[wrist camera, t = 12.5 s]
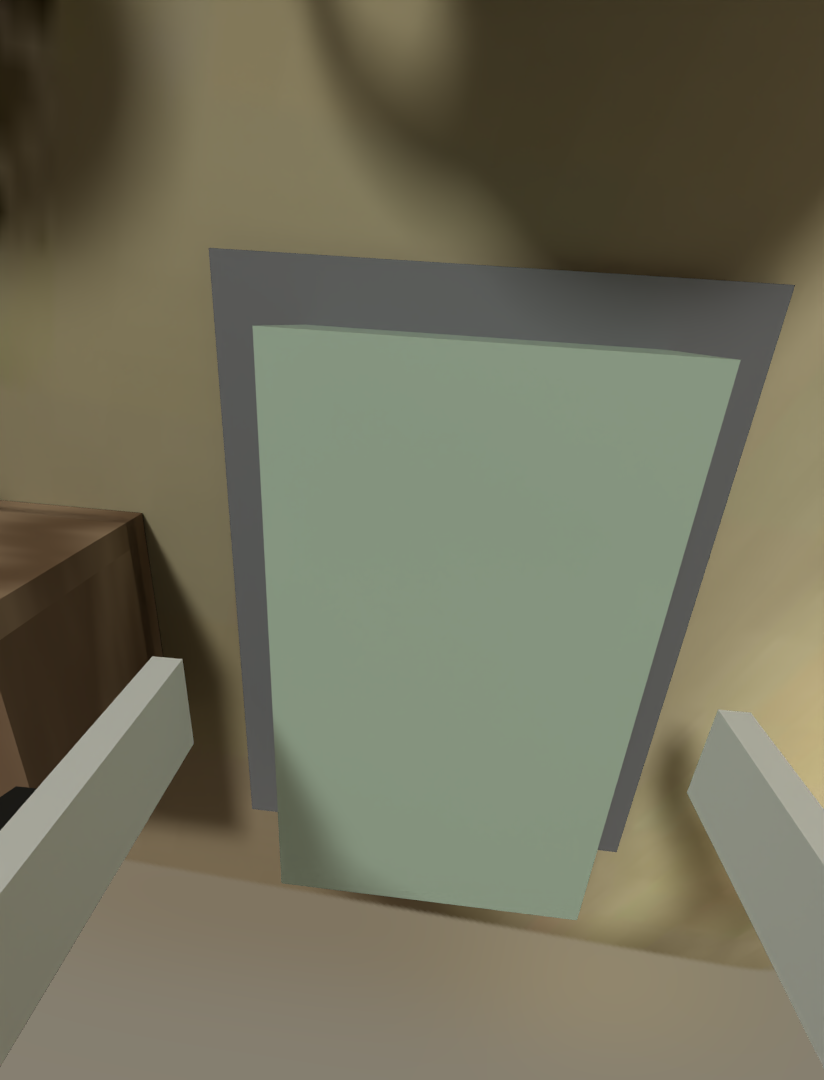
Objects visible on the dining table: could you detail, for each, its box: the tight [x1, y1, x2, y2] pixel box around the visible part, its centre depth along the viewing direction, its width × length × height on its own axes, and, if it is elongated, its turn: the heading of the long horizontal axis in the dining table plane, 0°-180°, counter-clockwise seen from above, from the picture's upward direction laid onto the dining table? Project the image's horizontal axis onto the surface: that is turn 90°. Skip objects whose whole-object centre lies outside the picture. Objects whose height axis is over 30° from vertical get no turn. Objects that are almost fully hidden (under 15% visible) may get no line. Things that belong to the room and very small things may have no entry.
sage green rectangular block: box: [253, 325, 741, 920], centre depth 17 cm, size 18×10×4 cm, turn 176°
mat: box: [209, 248, 795, 852], centre depth 19 cm, size 16×22×1 cm
